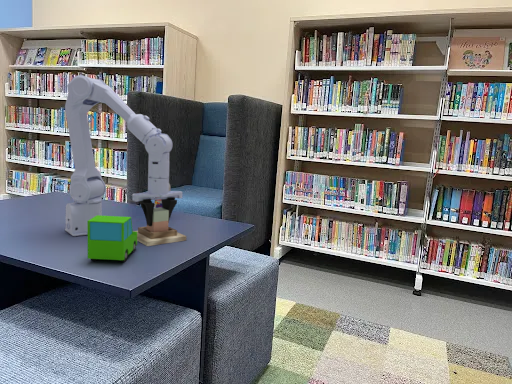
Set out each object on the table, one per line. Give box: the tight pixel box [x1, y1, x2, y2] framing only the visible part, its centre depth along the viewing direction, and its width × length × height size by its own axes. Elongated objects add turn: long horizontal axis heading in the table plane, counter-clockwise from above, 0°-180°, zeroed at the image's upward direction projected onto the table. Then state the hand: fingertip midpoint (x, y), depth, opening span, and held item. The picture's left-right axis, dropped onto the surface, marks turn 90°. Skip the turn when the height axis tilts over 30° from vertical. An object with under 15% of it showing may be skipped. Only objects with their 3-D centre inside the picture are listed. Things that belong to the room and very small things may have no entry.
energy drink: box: [154, 182, 171, 208], centre depth 144 cm, size 5×5×12 cm
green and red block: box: [146, 208, 170, 233], centre depth 117 cm, size 4×4×6 cm
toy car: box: [87, 215, 138, 263], centre depth 100 cm, size 10×13×10 cm
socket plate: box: [133, 225, 187, 247], centre depth 117 cm, size 12×12×3 cm
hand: (157, 224), depth 117 cm, fingers closed on green and red block, 4 cm apart
